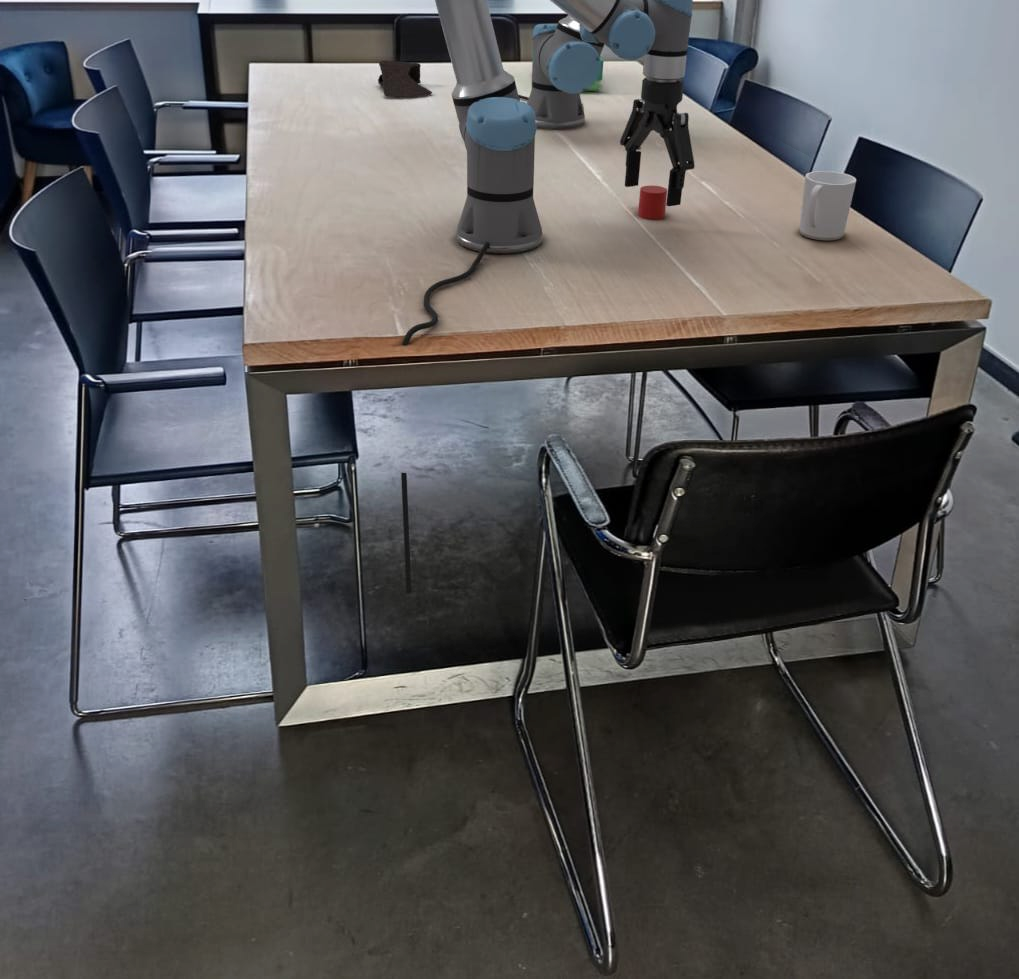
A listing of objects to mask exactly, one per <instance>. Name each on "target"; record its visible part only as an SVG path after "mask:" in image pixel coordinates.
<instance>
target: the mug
mask: <svg viewBox="0 0 1019 979" xmlns="http://www.w3.org/2000/svg"><path fill="white" fill-rule="evenodd" d="M856 183H857V178H856V177H855V176H853V175H851V174H848V173H844V172H840V171H832V170H816V171H809V172H807V173H806V174H805V177H804V184H803V194H802V203H801V212H800V219H799V228H798V232H799V234H800V235H802V236H803V237H805V238H809V239H812V240H817V241H836V240H840V239H842V238H843V237H844V236H845V230H846V227H847V221H848V217H849V215H850V214H849V213H850V209H851V205H852V201H853V196H854V193H855V189H856Z"/></svg>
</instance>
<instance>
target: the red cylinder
mask: <svg viewBox="0 0 1019 979" xmlns="http://www.w3.org/2000/svg"><path fill="white" fill-rule="evenodd" d="M667 194H668V188H666V187H664V186H661V185H643V186H641V187H640V189H639V199H638V211H637V212H638V213H637V215H638V216H639V217H640V218H643V219H648V220H660V219H663V218H665V216H666V208H667V205H666V203H667Z"/></svg>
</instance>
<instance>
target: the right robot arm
mask: <svg viewBox="0 0 1019 979" xmlns="http://www.w3.org/2000/svg"><path fill="white" fill-rule="evenodd" d="M531 38H532V39H531V40H532V44H533V60H532V59H531V63H532V64H531V66H532V67H531V90H530V93H529V96H525V95H521V94H518V96H519V99H521V100H525V101H527V102H526V103H527V104H528V105H530V106H531V107H532V109H533V110H534V113H535V121H536V129H537V128H538V129H544V130H571V129H577V128H580V127H582V126H584V125H585V121H586V120H585V119H586V115H585V106H584V103H583V102H582V99H581V95H580V94H581V93H583V92H586V91H585V90H587V89H589V88H590V87H591V86H592V85H593V84H594V83H595V82H596V80H597V78H598V76H599V73H600V68H601V61H600V56H601V55H602V52H603V50H604V46H605V44H604V43H598V44H596V43H594V42H585V41H583V40H582V38H581V35H580V24H579V23H578V22H577V21H575V20H574V19H573V18H572V17H570V16H569V15H568V14H567V15H566V17H563V18H562V19H560V20H558V22H557V23H539V24H536V25H535V26H534V28H533V34H532V37H531Z"/></svg>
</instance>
